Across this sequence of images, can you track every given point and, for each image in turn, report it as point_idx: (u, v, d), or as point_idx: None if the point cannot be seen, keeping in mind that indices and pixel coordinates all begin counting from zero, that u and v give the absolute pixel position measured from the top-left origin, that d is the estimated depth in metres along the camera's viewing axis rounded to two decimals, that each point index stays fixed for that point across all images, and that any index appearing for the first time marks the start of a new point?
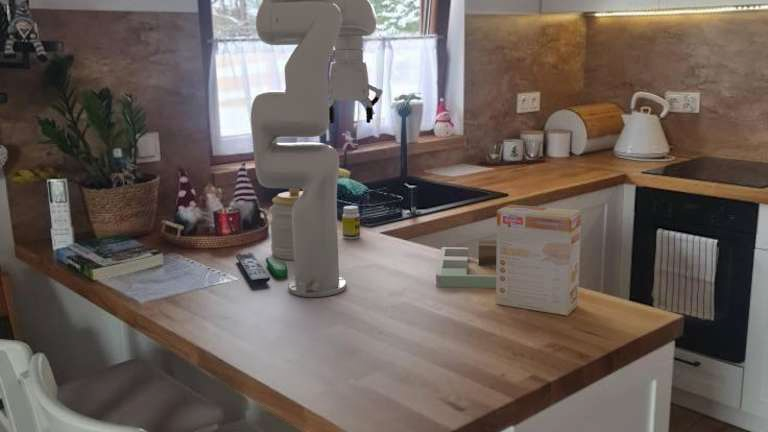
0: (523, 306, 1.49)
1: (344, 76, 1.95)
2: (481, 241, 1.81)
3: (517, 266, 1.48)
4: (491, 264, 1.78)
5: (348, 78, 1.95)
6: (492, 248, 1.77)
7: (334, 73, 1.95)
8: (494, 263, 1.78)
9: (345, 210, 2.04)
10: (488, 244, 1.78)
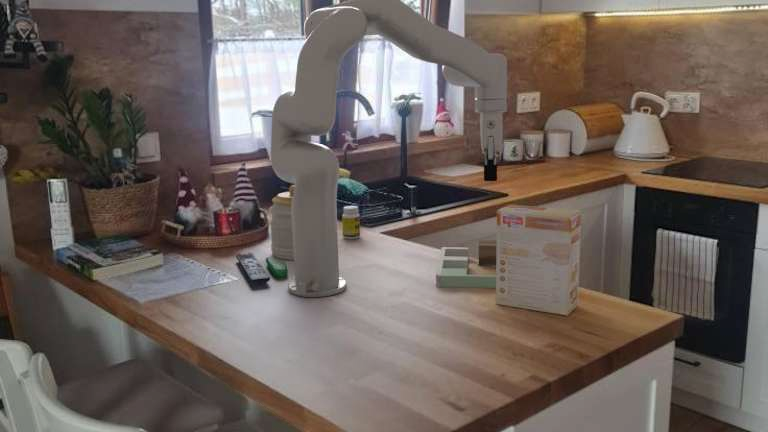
0: (523, 306, 1.49)
1: (502, 126, 1.83)
2: (481, 241, 1.81)
3: (517, 266, 1.48)
4: (491, 264, 1.78)
5: None
6: (492, 248, 1.77)
7: (501, 124, 1.81)
8: (494, 263, 1.78)
9: (345, 210, 2.04)
10: (488, 244, 1.78)
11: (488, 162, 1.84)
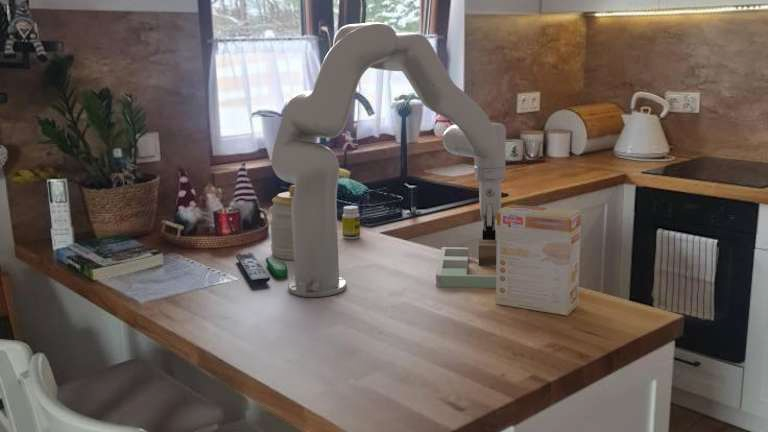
0: (523, 306, 1.49)
1: None
2: (481, 241, 1.81)
3: (517, 266, 1.48)
4: (491, 264, 1.78)
5: None
6: (492, 248, 1.77)
7: (500, 192, 1.84)
8: (494, 263, 1.78)
9: (345, 210, 2.04)
10: (488, 244, 1.78)
11: (487, 228, 1.88)
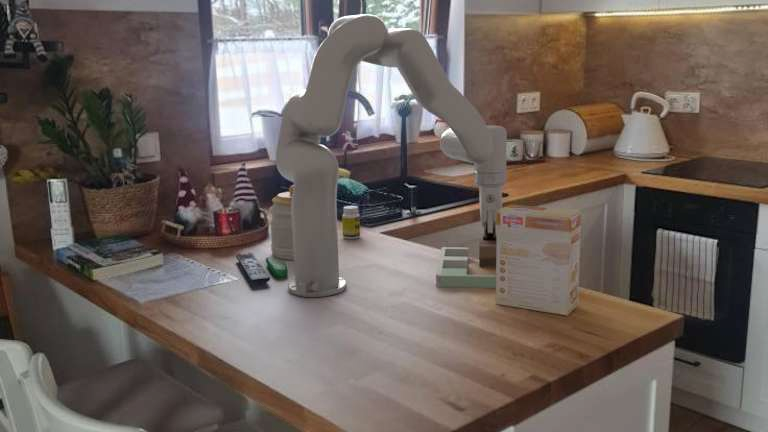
0: (523, 306, 1.49)
1: None
2: (482, 242, 1.79)
3: (517, 266, 1.48)
4: (492, 265, 1.77)
5: None
6: (493, 248, 1.76)
7: (501, 198, 1.77)
8: (495, 264, 1.77)
9: (345, 210, 2.04)
10: (489, 245, 1.77)
11: (487, 235, 1.81)
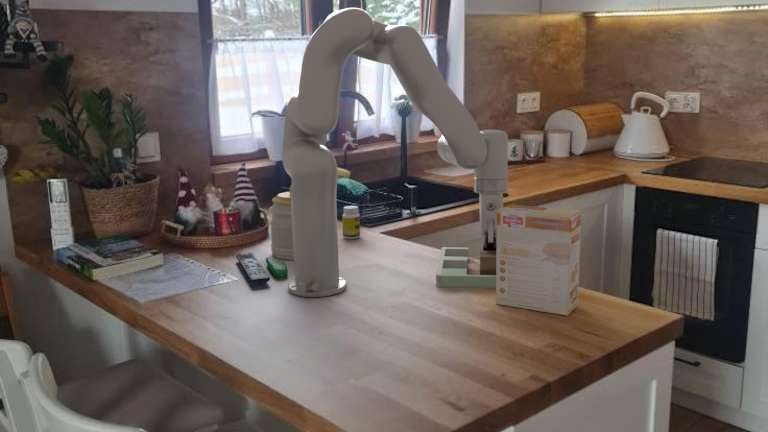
0: (523, 306, 1.49)
1: None
2: (482, 252, 1.71)
3: (517, 266, 1.48)
4: None
5: None
6: (495, 259, 1.68)
7: (502, 206, 1.69)
8: None
9: (345, 210, 2.04)
10: (490, 255, 1.69)
11: (488, 245, 1.72)
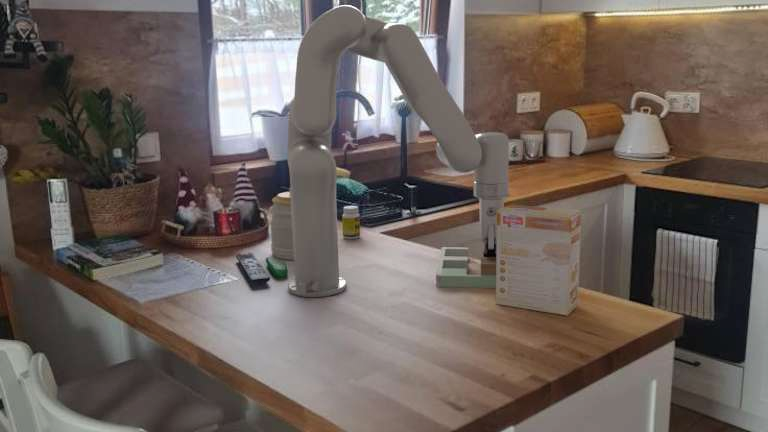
0: (523, 306, 1.49)
1: None
2: (483, 259, 1.66)
3: (517, 266, 1.48)
4: None
5: None
6: None
7: None
8: None
9: (345, 210, 2.04)
10: (491, 262, 1.63)
11: (488, 251, 1.67)
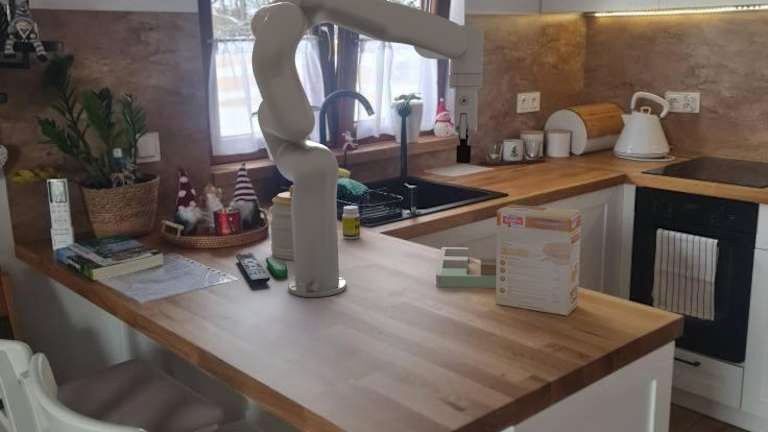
0: (523, 306, 1.49)
1: (477, 104, 1.70)
2: (483, 260, 1.66)
3: (517, 266, 1.48)
4: None
5: (477, 106, 1.72)
6: None
7: (476, 101, 1.68)
8: None
9: (345, 210, 2.04)
10: (491, 263, 1.63)
11: (461, 142, 1.71)
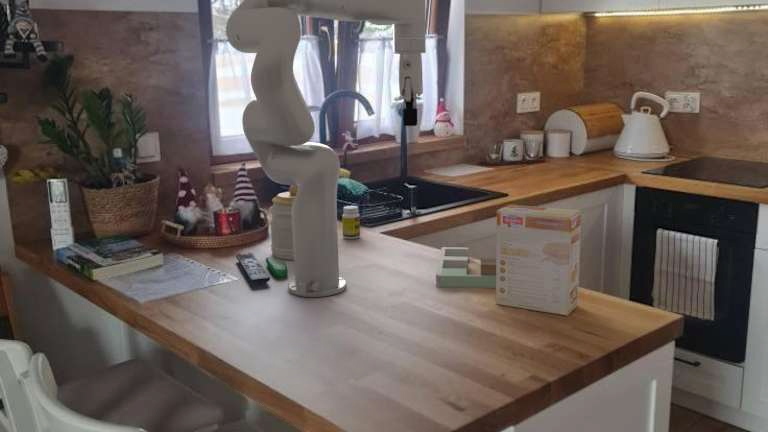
0: (523, 306, 1.49)
1: (421, 68, 1.78)
2: (483, 260, 1.66)
3: (517, 266, 1.48)
4: None
5: (421, 70, 1.79)
6: None
7: (419, 65, 1.75)
8: None
9: (345, 210, 2.04)
10: (491, 263, 1.63)
11: (407, 105, 1.78)
